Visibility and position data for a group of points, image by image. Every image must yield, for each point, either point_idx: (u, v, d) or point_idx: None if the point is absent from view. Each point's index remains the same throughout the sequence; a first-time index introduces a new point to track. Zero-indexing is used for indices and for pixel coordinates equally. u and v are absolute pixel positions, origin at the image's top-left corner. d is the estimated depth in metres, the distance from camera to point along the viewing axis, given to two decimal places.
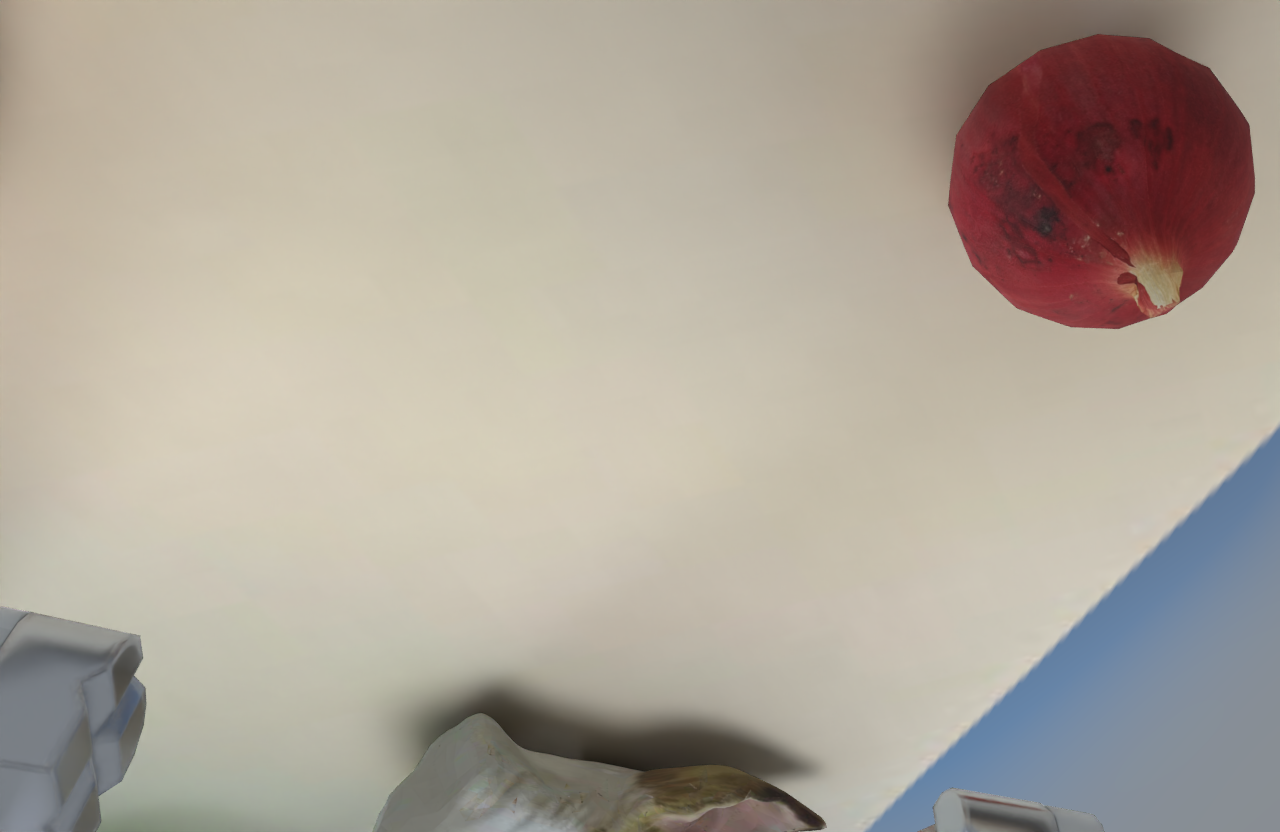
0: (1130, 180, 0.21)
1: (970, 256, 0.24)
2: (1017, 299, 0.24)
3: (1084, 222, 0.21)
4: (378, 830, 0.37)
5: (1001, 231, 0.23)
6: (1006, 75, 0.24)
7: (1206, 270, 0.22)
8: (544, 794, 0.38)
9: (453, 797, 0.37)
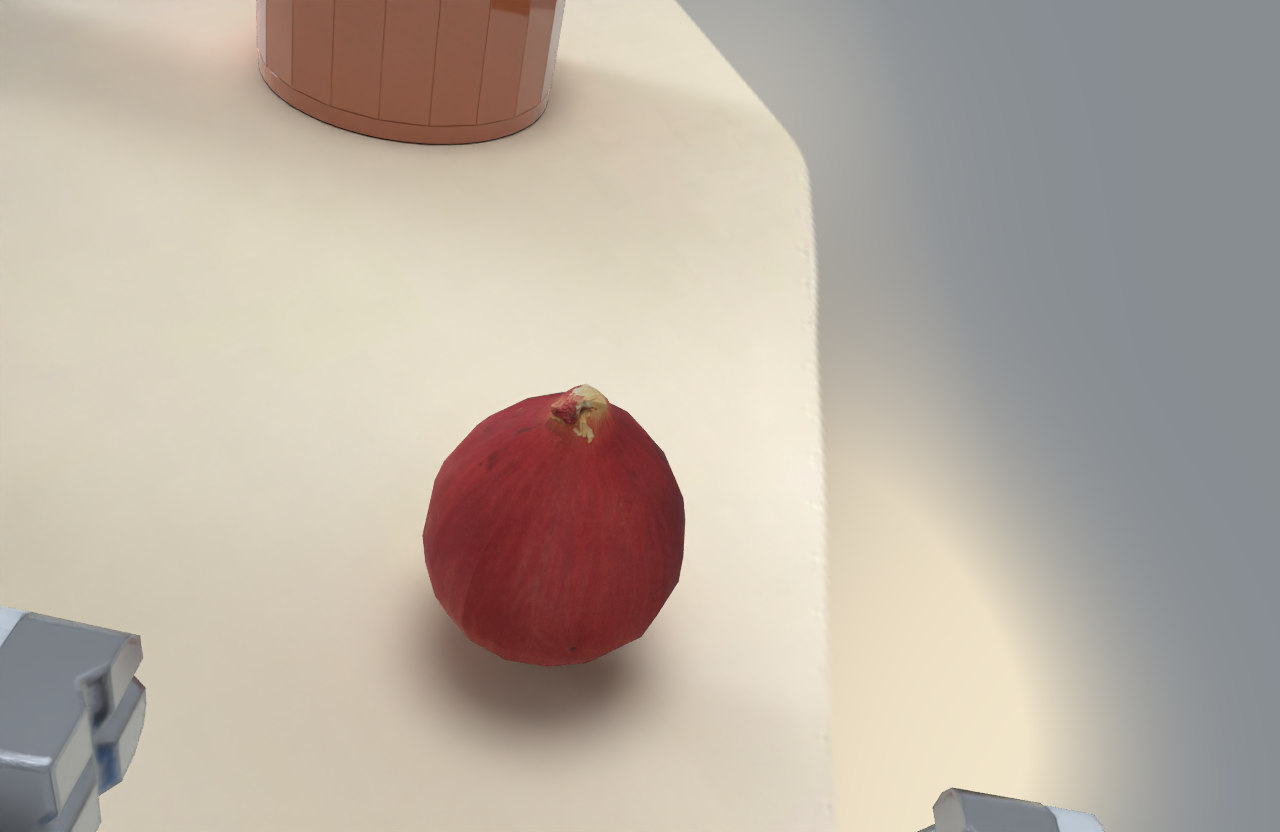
0: (633, 420, 0.25)
1: None
2: None
3: None
4: None
5: None
6: None
7: (574, 497, 0.23)
8: None
9: None
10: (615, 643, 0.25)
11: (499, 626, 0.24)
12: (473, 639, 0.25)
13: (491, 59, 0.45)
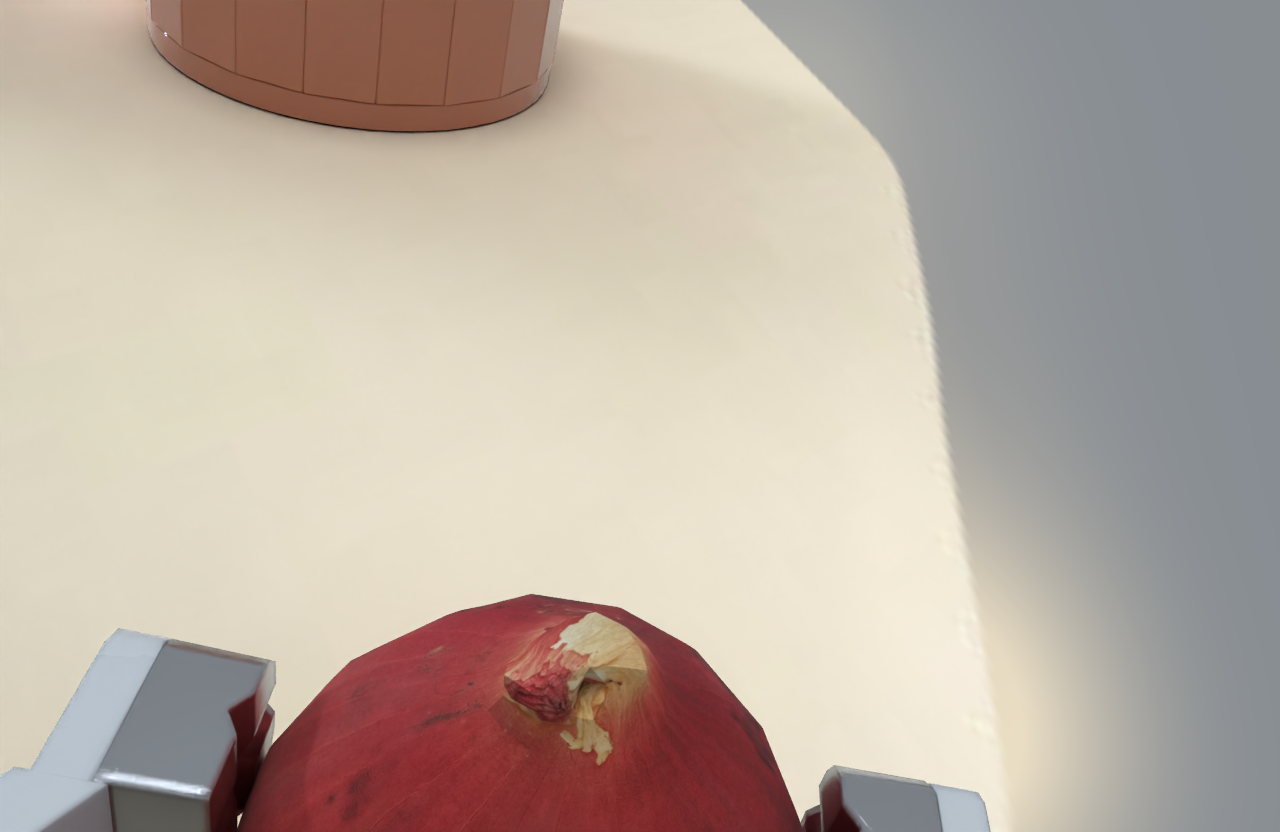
0: (700, 671, 0.11)
1: None
2: (328, 686, 0.11)
3: (607, 609, 0.11)
4: None
5: None
6: None
7: None
8: None
9: None
10: None
11: None
12: None
13: (465, 10, 0.31)
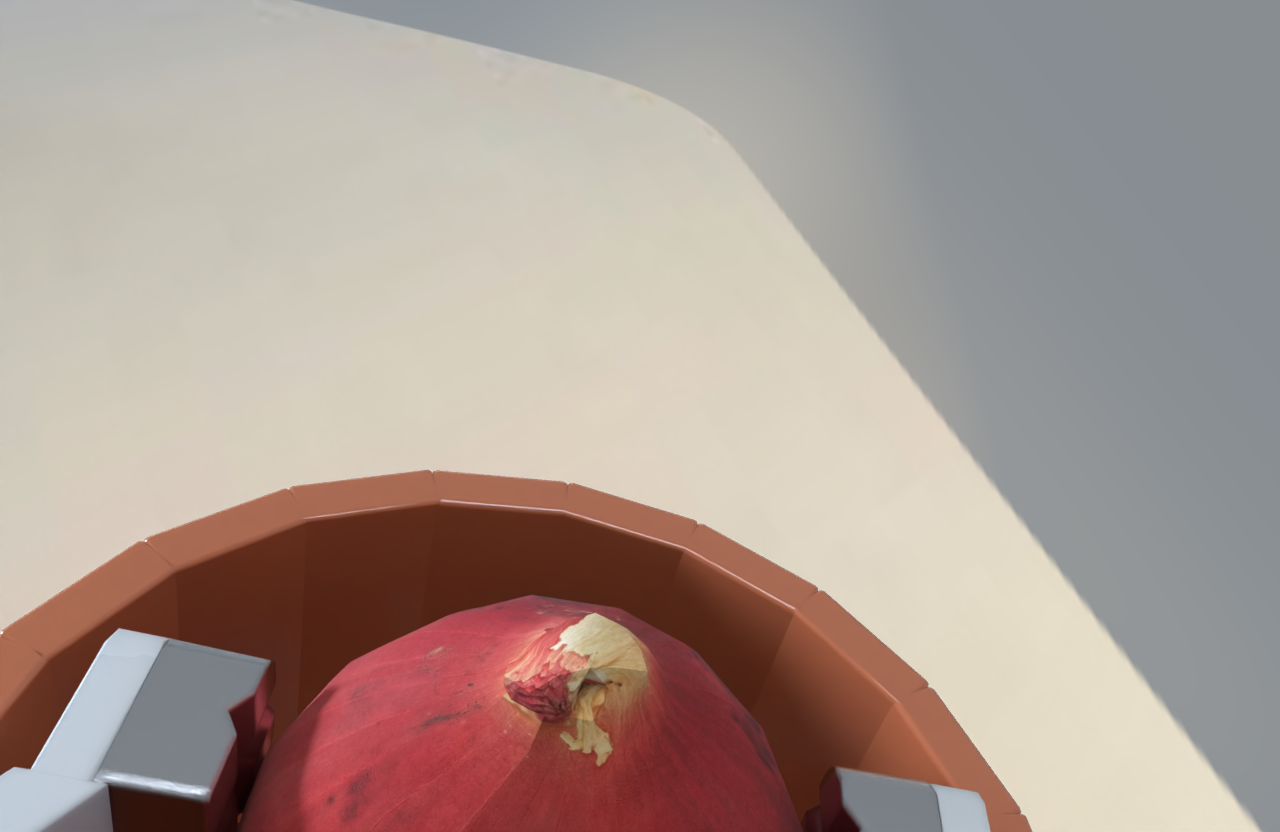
0: (702, 673, 0.11)
1: None
2: (328, 687, 0.11)
3: (607, 610, 0.11)
4: None
5: None
6: None
7: None
8: None
9: None
10: None
11: None
12: None
13: None
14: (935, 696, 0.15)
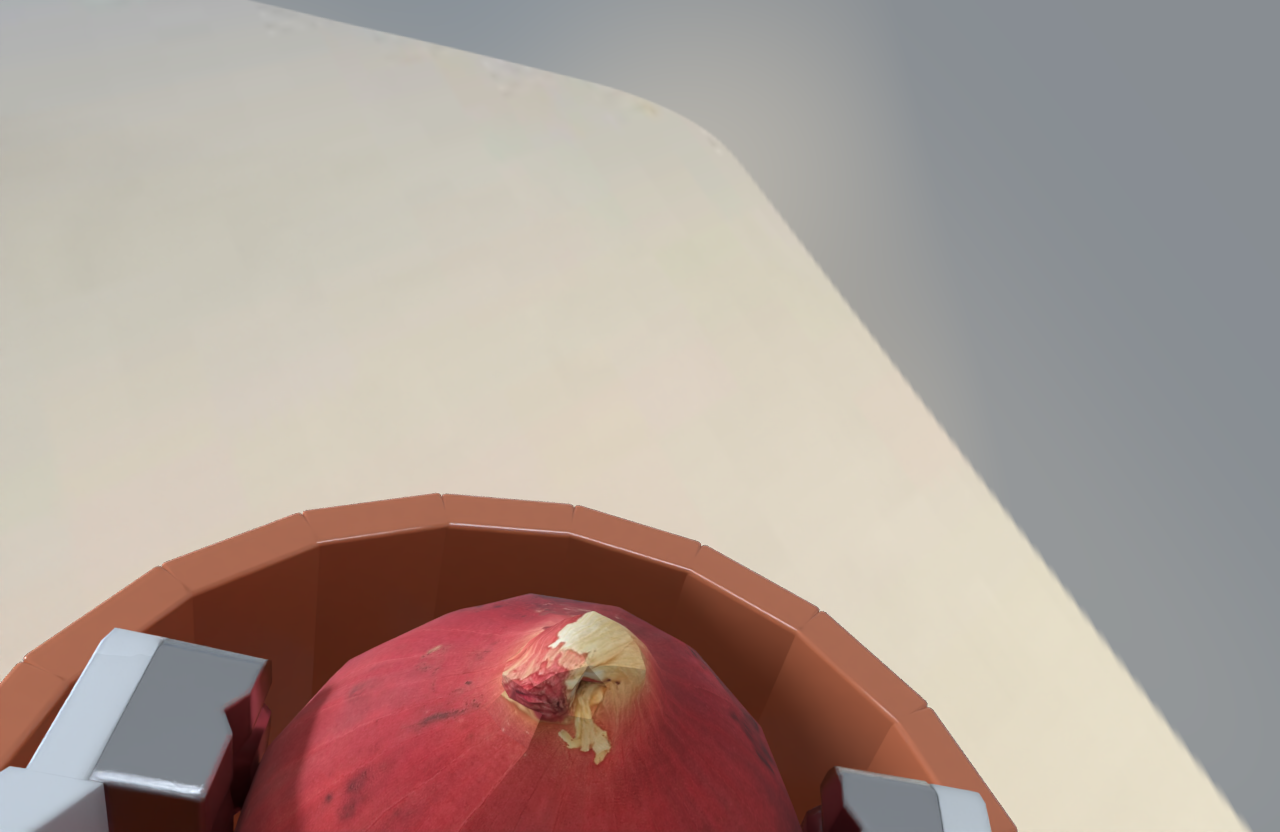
0: (700, 671, 0.11)
1: None
2: (327, 685, 0.11)
3: (606, 609, 0.11)
4: None
5: None
6: None
7: None
8: None
9: None
10: None
11: None
12: None
13: None
14: (934, 716, 0.15)
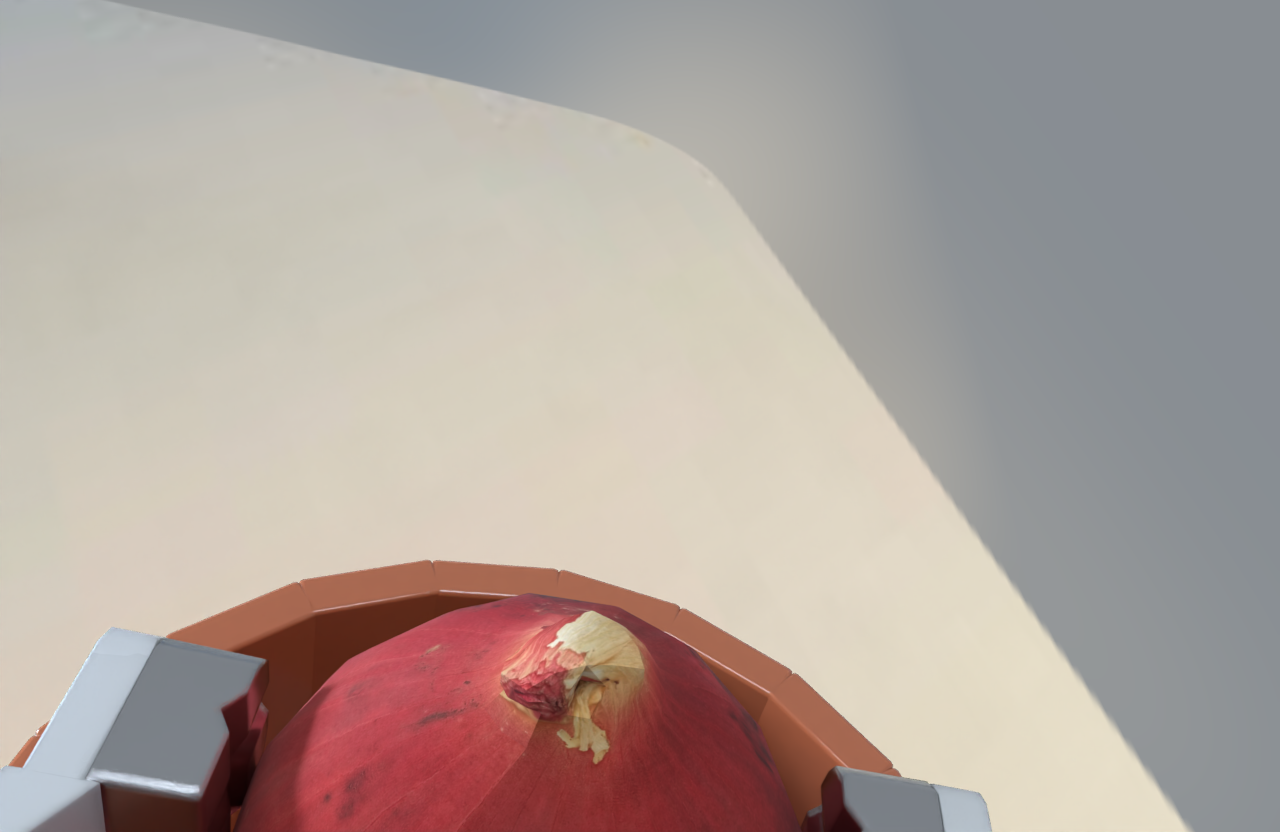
0: (698, 671, 0.11)
1: None
2: (326, 685, 0.11)
3: (604, 609, 0.11)
4: None
5: None
6: None
7: None
8: None
9: None
10: None
11: None
12: None
13: None
14: None
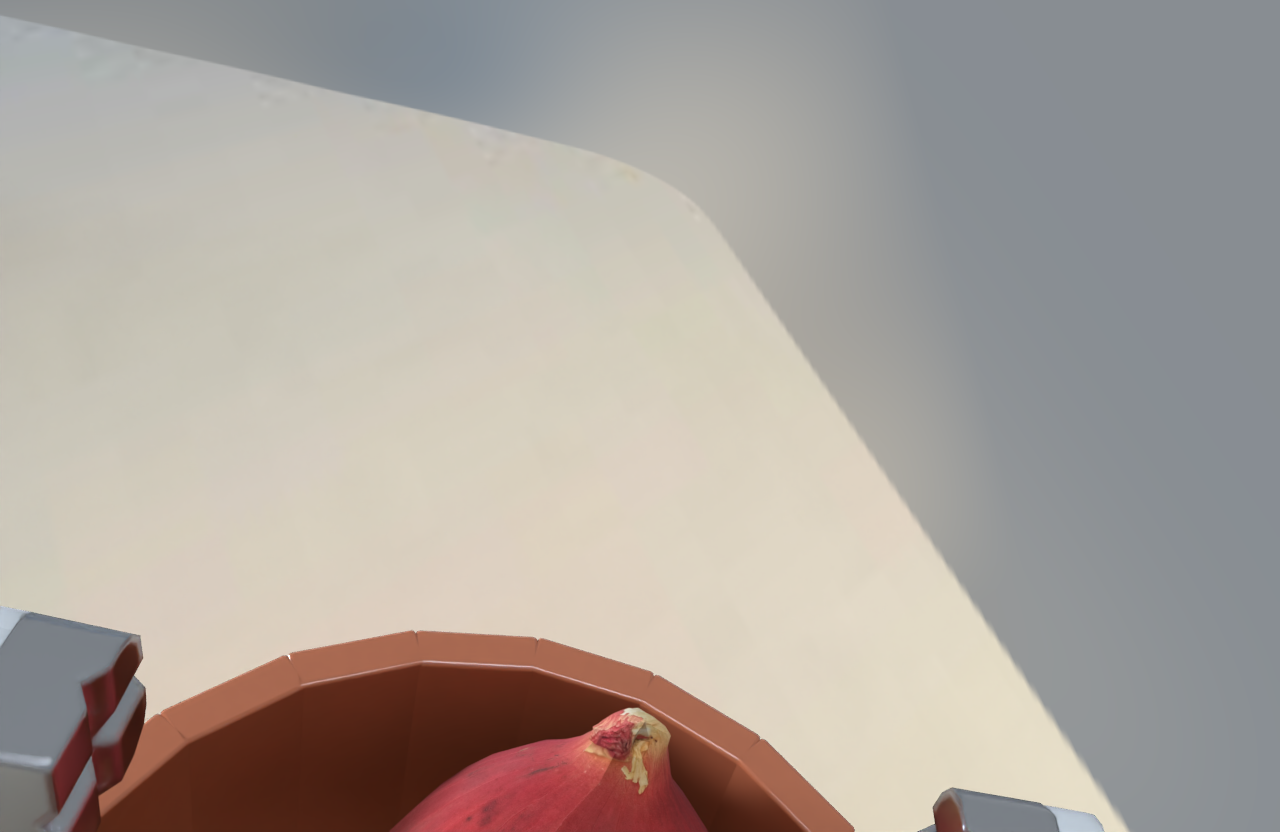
0: None
1: None
2: (434, 790, 0.17)
3: None
4: None
5: None
6: None
7: None
8: None
9: None
10: None
11: None
12: None
13: None
14: None
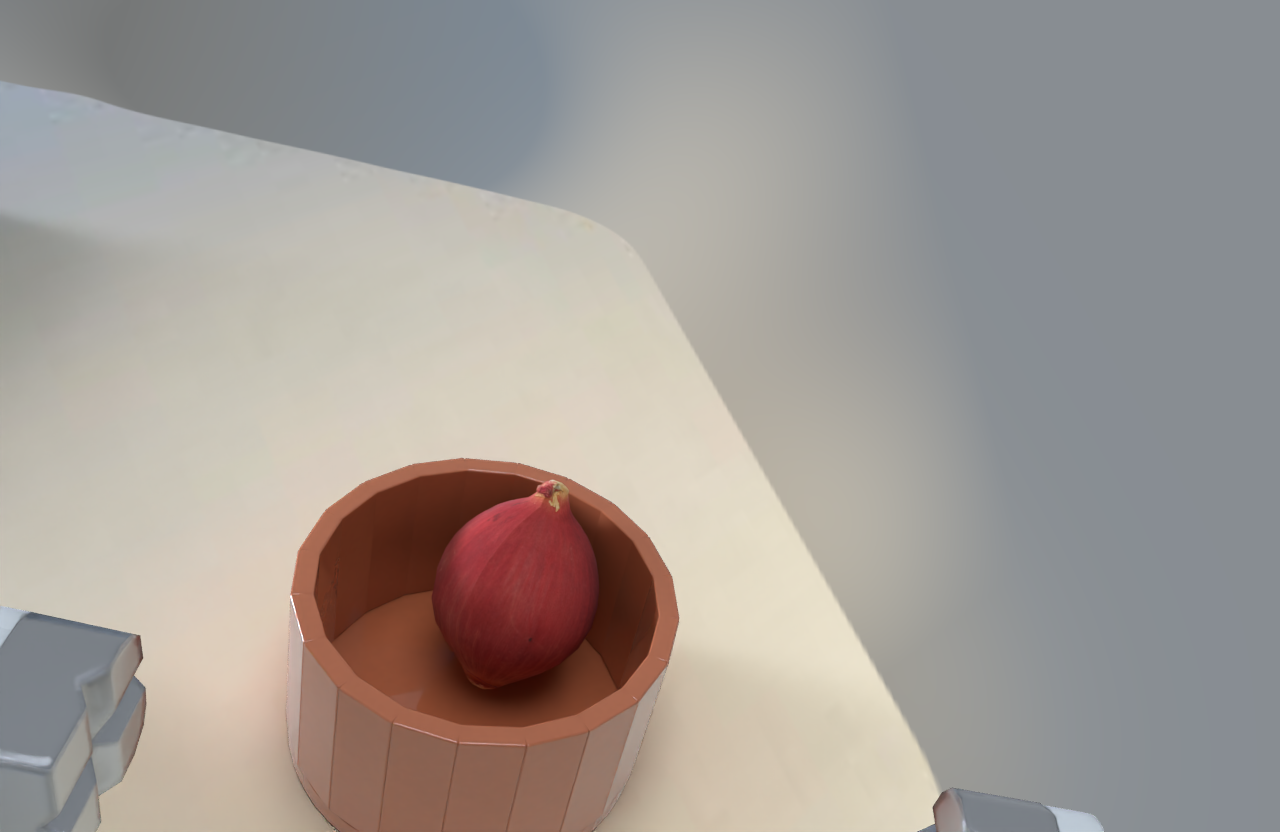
0: None
1: None
2: None
3: None
4: None
5: None
6: None
7: (546, 536, 0.39)
8: None
9: None
10: (554, 645, 0.39)
11: (488, 615, 0.38)
12: (462, 638, 0.39)
13: (578, 793, 0.36)
14: (649, 539, 0.41)
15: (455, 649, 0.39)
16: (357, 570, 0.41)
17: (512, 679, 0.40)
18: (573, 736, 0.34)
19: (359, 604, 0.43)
